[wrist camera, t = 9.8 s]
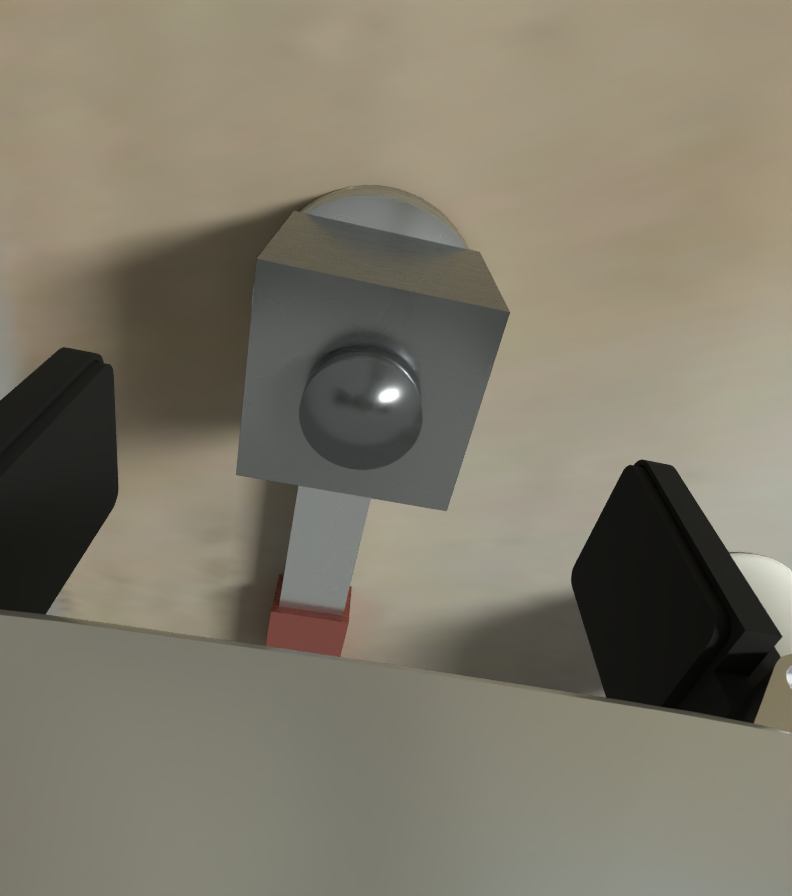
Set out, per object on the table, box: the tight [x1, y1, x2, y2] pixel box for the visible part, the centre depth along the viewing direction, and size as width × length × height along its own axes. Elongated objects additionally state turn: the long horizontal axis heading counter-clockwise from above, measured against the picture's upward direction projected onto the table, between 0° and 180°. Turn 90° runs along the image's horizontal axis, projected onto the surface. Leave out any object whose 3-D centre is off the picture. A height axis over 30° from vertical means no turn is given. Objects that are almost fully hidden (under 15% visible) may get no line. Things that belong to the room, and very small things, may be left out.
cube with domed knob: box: [236, 211, 510, 511], centre depth 18 cm, size 6×6×7 cm
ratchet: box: [251, 185, 468, 657], centre depth 24 cm, size 24×8×6 cm, turn 168°
